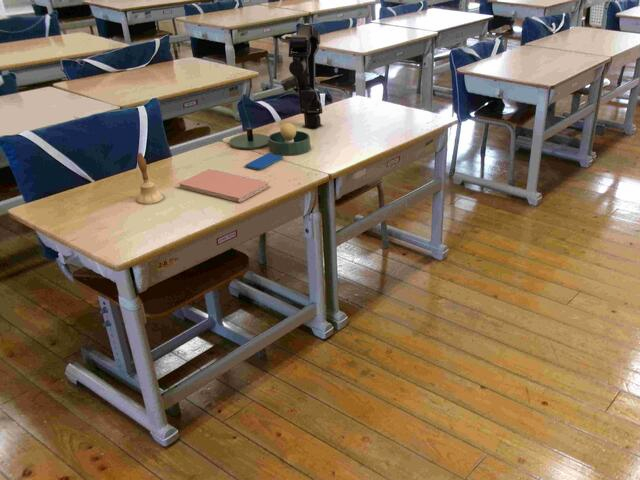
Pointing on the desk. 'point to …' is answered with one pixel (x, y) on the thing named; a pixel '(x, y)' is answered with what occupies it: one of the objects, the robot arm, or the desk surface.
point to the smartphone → (264, 161)
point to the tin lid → (249, 140)
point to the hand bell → (147, 185)
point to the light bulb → (288, 132)
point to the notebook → (224, 185)
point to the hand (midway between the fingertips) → (304, 109)
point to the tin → (289, 144)
